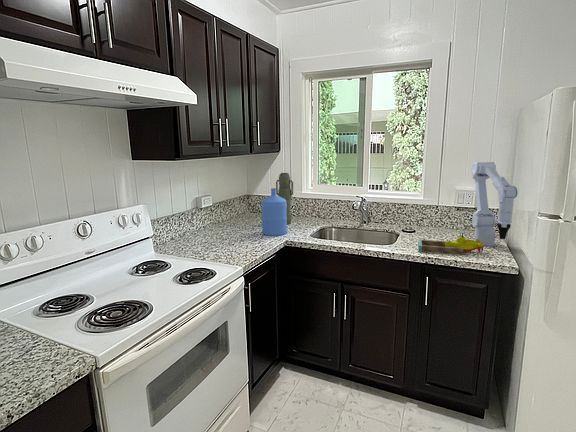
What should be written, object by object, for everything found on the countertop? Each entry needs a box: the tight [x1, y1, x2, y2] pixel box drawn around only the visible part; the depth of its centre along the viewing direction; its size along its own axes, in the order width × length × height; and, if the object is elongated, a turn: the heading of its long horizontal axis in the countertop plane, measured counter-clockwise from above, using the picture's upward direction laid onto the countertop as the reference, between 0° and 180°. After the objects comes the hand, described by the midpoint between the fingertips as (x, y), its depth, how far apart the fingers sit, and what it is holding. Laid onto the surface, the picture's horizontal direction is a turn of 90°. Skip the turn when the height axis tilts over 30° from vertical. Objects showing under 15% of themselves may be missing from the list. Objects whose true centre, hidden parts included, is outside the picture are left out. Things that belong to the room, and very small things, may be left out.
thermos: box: [275, 172, 294, 226], centre depth 242 cm, size 9×12×35 cm
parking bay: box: [417, 239, 464, 256], centre depth 182 cm, size 20×12×3 cm, turn 71°
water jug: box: [260, 188, 288, 237], centre depth 218 cm, size 16×16×28 cm
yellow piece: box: [444, 232, 485, 253], centre depth 177 cm, size 6×18×10 cm, turn 78°
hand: (502, 238), depth 172 cm, fingers closed
